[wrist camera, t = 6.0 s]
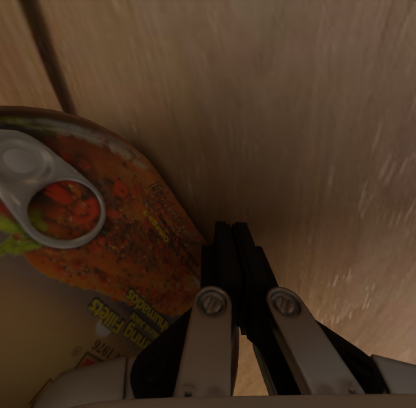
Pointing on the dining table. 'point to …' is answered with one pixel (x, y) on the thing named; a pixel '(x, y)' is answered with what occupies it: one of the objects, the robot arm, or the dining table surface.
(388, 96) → the dining table surface
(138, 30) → the dining table surface
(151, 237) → the tin
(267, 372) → the robot arm
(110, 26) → the dining table surface
